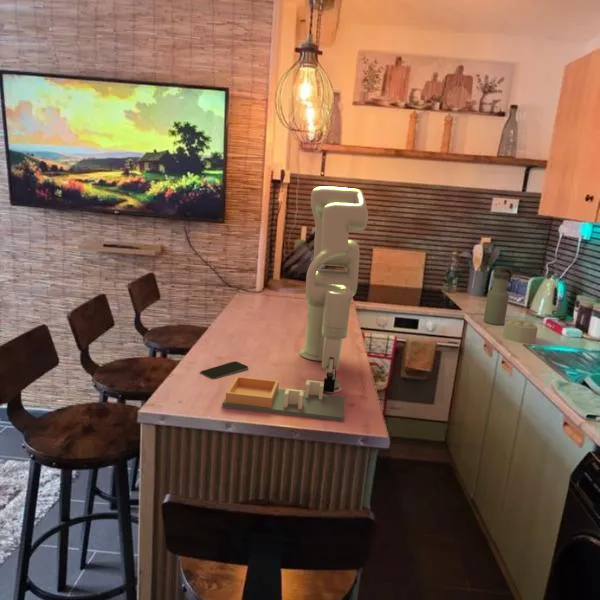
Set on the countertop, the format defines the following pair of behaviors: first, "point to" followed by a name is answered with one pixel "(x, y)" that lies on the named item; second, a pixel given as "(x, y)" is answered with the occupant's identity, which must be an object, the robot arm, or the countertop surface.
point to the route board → (302, 403)
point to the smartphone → (224, 370)
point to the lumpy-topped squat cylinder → (520, 331)
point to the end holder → (252, 391)
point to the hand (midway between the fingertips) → (329, 386)
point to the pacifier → (335, 386)
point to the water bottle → (498, 296)
